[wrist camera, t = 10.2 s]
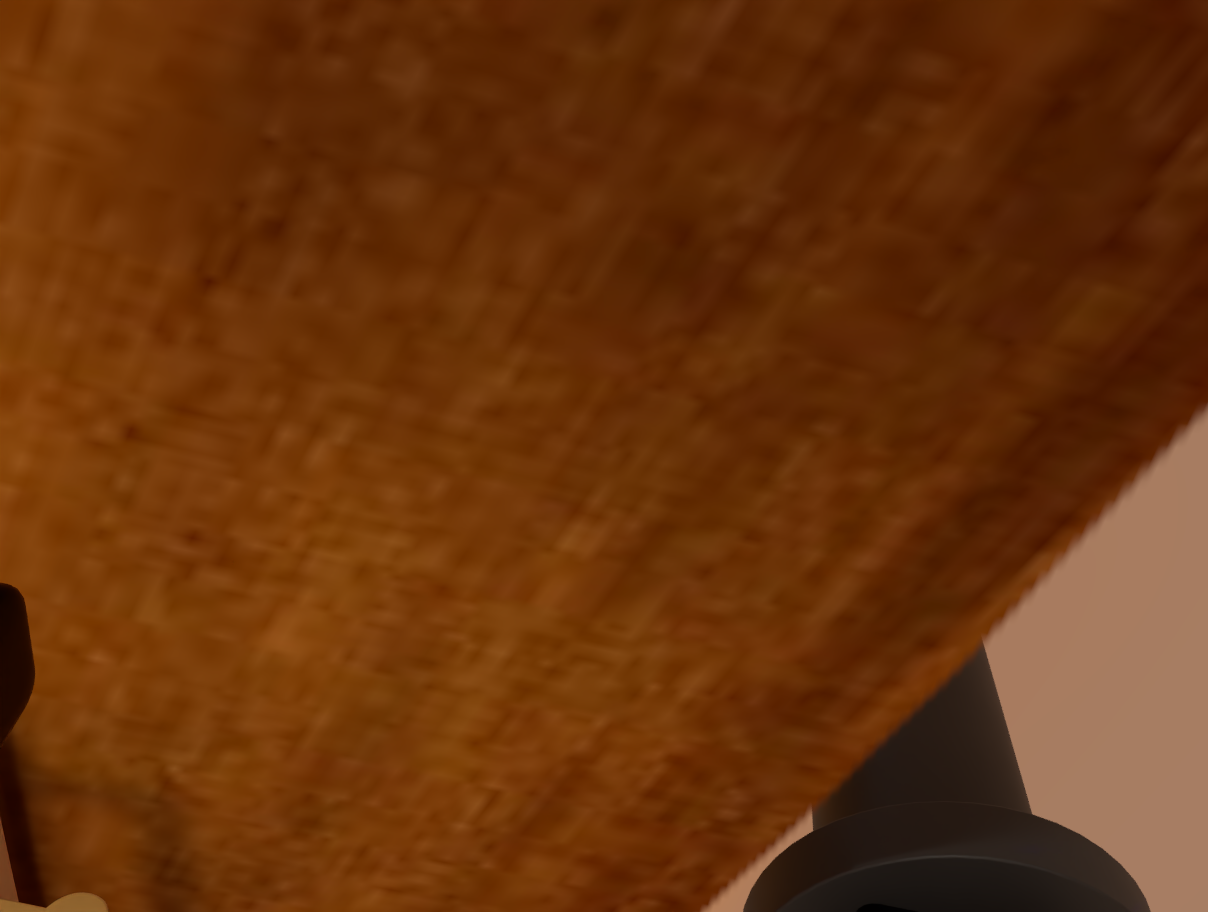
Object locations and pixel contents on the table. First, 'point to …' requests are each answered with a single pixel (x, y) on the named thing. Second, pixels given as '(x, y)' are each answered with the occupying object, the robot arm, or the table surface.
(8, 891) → the drawer
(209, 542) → the table surface
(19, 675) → the robot arm
